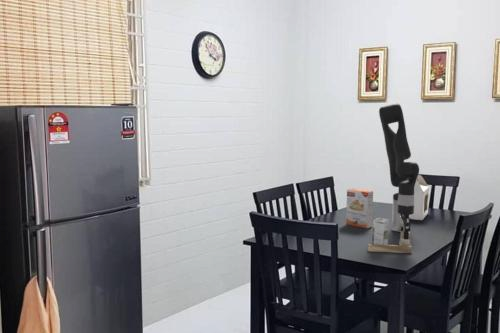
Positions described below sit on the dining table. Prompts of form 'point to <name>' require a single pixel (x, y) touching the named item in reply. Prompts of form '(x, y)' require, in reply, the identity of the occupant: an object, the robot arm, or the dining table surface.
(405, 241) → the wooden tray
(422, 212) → the gable box
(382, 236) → the syrup box
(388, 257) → the dining table surface
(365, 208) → the cracker box
